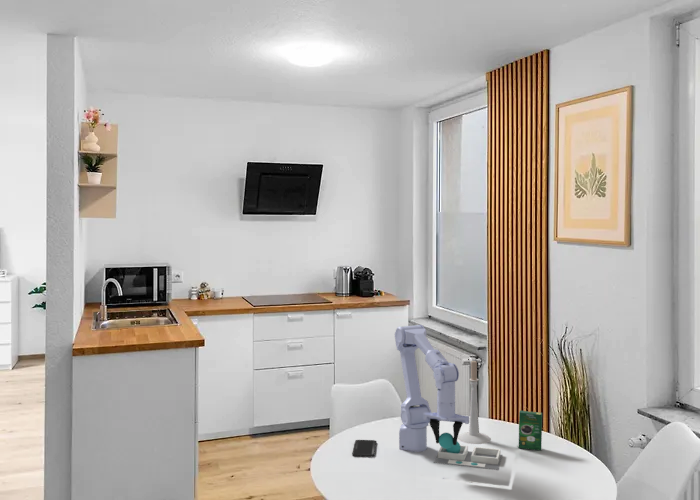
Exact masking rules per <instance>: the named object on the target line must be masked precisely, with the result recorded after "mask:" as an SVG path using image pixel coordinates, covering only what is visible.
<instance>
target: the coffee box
mask: <svg viewBox="0 0 700 500" xmlns="http://www.w3.org/2000/svg"><path fill="white" fill-rule="evenodd" d="M518 415H519V416H518V449H522V450H532V451H539V452H540V451H542V439H543V438H542V436H543V412H537V411H527V410H519V414H518Z"/></svg>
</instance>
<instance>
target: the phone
mask: <svg viewBox="0 0 700 500" xmlns="http://www.w3.org/2000/svg"><path fill="white" fill-rule="evenodd" d="M376 449H377V440H375V439H355V442H354V444H353V450H352V452H351V455H352V457H353V458H355V457H357V458H374V457H375V454H376Z"/></svg>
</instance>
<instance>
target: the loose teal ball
mask: <svg viewBox="0 0 700 500" xmlns="http://www.w3.org/2000/svg"><path fill="white" fill-rule="evenodd" d="M439 435H440V437H439V443H438V444H439V445H440V448H441V447H443V448H445V449H449V448H451V447H452V446H453V440H454V435H452V434H451V433H449V432H443V433H441V434H439Z"/></svg>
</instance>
